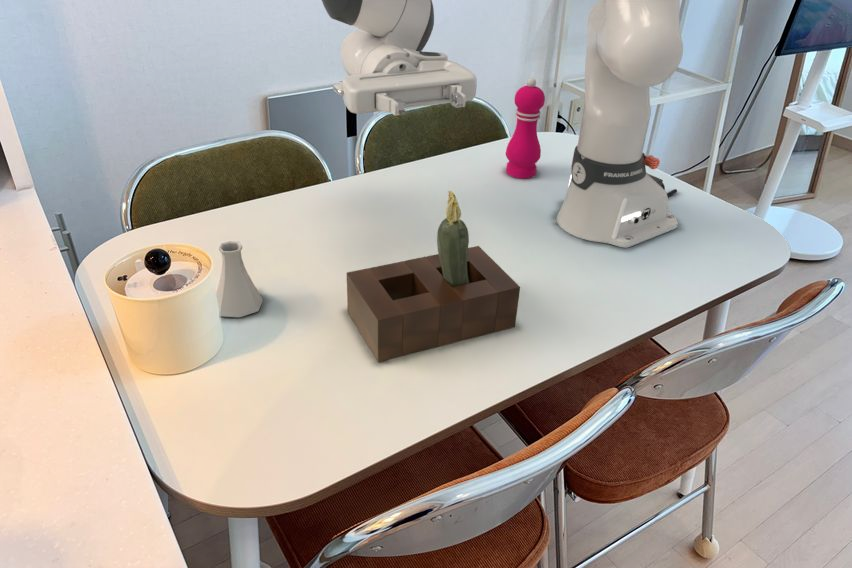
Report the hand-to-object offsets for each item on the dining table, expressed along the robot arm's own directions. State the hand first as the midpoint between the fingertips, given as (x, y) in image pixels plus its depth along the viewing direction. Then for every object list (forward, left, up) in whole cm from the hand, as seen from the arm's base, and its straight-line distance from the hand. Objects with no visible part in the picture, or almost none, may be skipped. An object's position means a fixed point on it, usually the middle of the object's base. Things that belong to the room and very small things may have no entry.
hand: (431, 105), depth 97 cm
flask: (+30, -2, -28) cm, 41 cm away
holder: (+5, +12, -28) cm, 30 cm away
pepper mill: (-35, -29, -28) cm, 54 cm away
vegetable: (0, +12, -28) cm, 30 cm away
